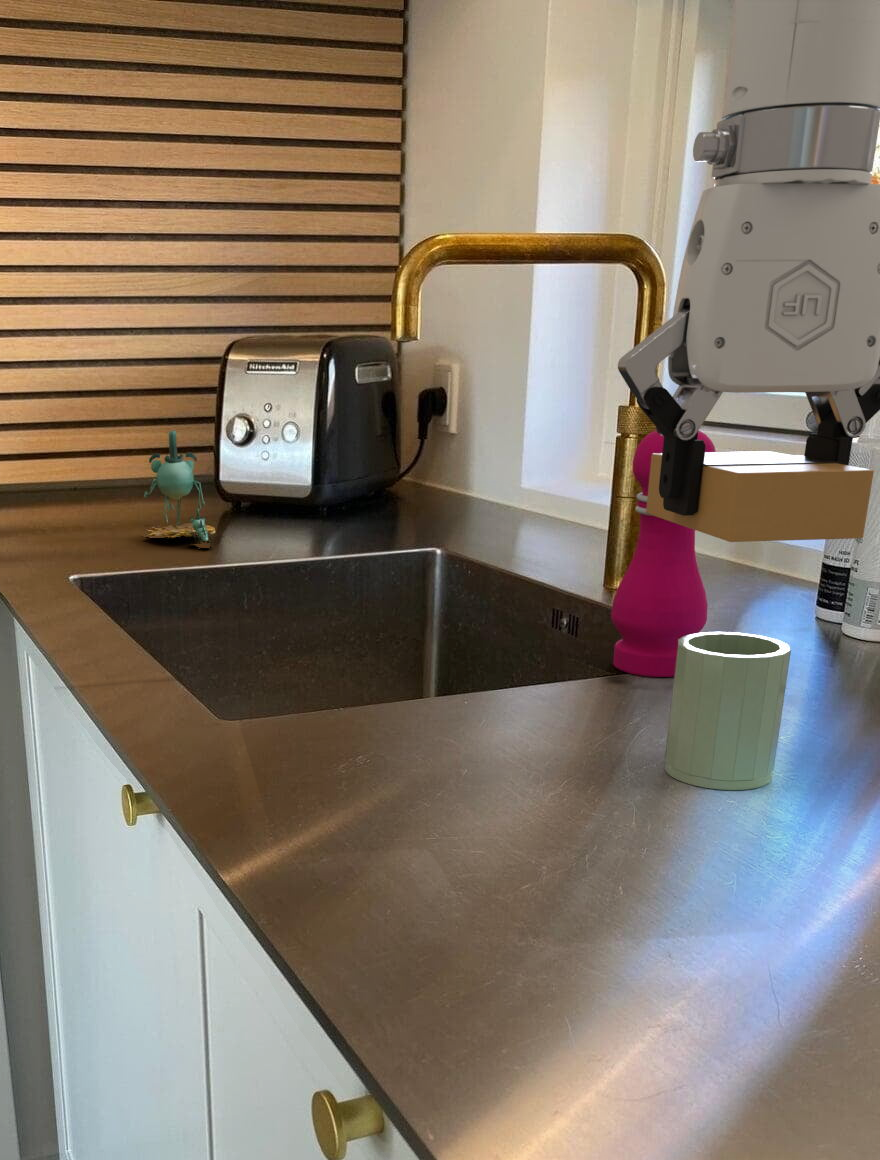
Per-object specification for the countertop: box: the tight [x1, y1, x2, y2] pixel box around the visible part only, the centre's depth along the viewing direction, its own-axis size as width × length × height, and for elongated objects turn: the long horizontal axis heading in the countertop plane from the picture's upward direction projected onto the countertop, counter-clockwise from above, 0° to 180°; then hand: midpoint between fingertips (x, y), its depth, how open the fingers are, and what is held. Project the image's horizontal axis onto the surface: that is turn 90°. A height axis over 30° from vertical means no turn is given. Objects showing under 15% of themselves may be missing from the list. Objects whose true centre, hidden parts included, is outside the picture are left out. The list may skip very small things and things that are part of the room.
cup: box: [664, 631, 792, 791], centre depth 73 cm, size 6×6×8 cm
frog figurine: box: [143, 429, 216, 550], centre depth 156 cm, size 10×18×15 cm, turn 13°
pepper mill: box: [610, 429, 717, 678], centre depth 93 cm, size 7×7×20 cm
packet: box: [646, 450, 875, 543], centre depth 68 cm, size 11×7×4 cm
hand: (749, 508), depth 68 cm, fingers closed on packet, 7 cm apart
